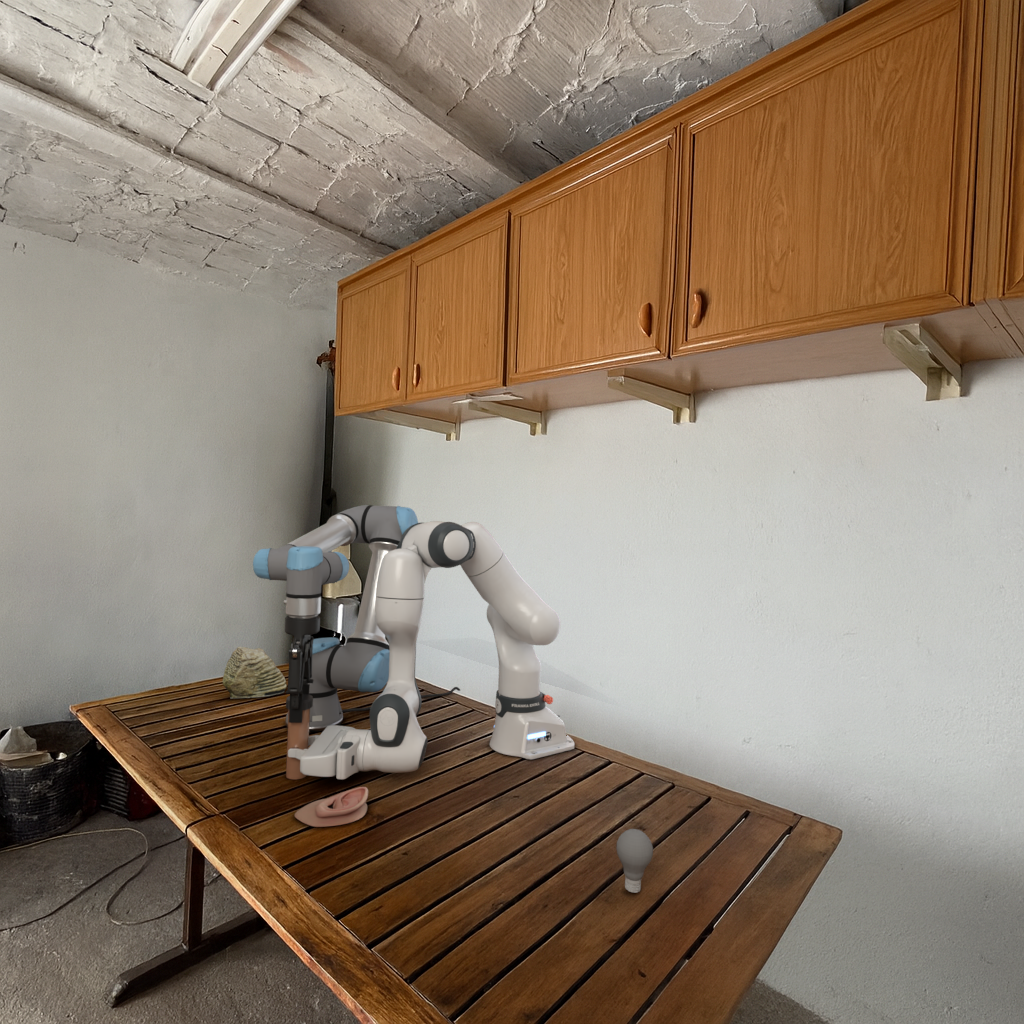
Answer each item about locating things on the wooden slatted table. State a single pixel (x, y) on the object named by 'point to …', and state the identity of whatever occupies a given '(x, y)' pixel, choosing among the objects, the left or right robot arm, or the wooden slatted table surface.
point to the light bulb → (634, 857)
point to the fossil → (252, 674)
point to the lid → (306, 701)
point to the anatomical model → (335, 809)
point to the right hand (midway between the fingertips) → (293, 746)
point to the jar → (297, 744)
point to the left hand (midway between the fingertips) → (298, 716)
